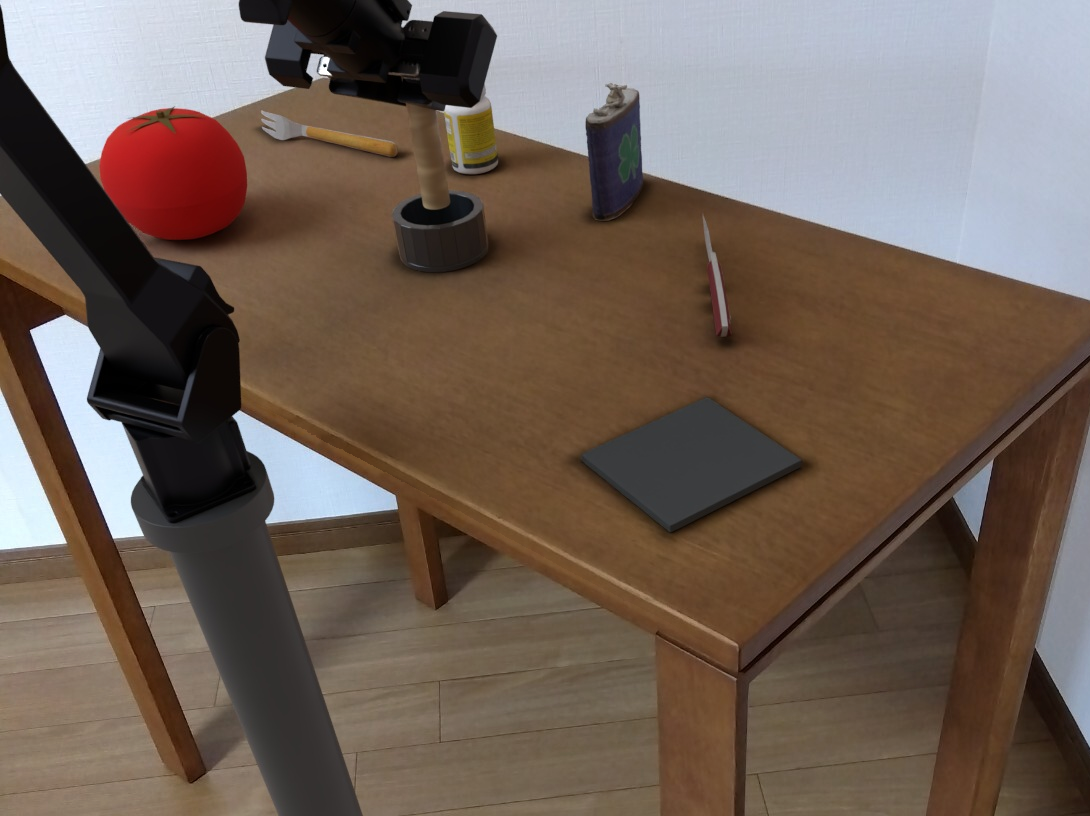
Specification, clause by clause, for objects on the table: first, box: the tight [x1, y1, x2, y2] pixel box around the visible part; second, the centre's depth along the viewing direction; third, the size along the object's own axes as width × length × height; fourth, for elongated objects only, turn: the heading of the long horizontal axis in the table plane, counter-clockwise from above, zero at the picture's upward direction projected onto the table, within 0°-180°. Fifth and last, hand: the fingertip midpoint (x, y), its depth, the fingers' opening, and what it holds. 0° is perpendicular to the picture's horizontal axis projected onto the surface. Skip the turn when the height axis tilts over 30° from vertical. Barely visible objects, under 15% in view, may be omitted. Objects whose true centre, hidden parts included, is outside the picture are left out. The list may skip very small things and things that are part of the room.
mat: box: [580, 396, 803, 534], centre depth 77 cm, size 11×10×1 cm
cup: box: [391, 189, 490, 273], centre depth 101 cm, size 8×8×4 cm
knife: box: [702, 214, 733, 338], centre depth 94 cm, size 20×1×3 cm, turn 1°
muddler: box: [401, 39, 450, 210], centre depth 95 cm, size 2×2×14 cm
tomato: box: [98, 105, 248, 241], centre depth 106 cm, size 12×13×11 cm
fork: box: [260, 109, 399, 158], centre depth 123 cm, size 2×2×20 cm
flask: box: [585, 82, 644, 222], centre depth 105 cm, size 9×3×11 cm, turn 157°
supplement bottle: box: [443, 82, 499, 175], centre depth 114 cm, size 5×5×8 cm
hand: (430, 103), depth 95 cm, fingers closed on muddler, 2 cm apart
